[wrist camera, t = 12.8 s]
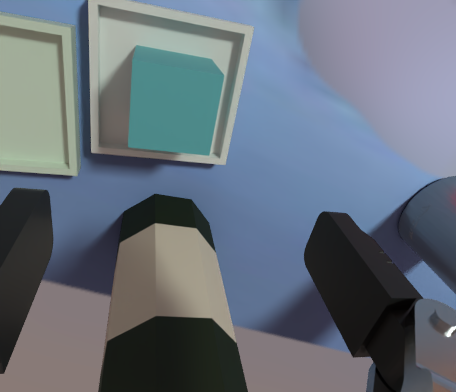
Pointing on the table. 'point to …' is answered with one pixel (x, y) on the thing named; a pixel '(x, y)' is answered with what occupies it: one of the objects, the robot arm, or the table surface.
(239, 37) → the grey tray
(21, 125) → the green tray
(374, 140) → the table surface
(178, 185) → the table surface
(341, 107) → the table surface
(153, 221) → the wine bottle
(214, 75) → the teal block
